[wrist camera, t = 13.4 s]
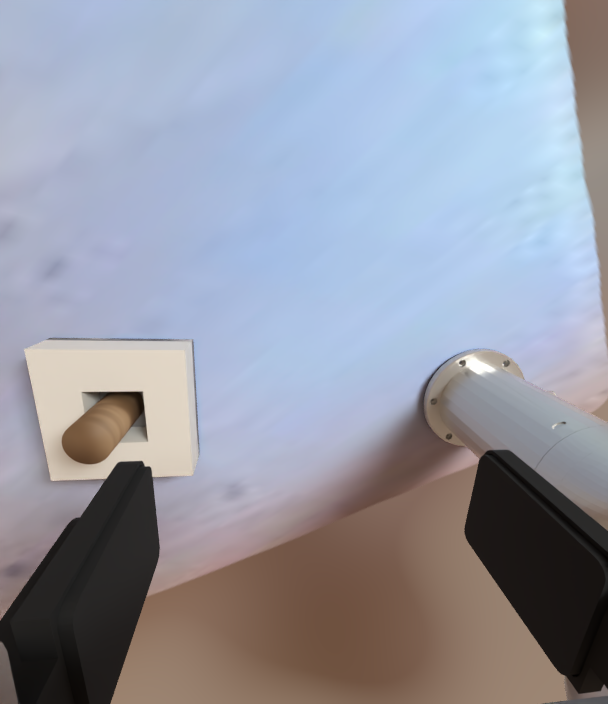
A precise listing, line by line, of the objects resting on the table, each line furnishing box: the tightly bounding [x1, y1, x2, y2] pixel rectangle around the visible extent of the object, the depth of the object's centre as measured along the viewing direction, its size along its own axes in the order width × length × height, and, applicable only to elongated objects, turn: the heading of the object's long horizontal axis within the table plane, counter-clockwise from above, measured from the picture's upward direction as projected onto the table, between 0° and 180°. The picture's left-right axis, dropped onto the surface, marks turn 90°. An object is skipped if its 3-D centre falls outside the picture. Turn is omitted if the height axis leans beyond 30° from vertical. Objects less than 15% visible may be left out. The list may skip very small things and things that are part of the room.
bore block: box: [24, 338, 199, 481], centre depth 36 cm, size 14×14×4 cm
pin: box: [62, 391, 144, 464], centre depth 33 cm, size 4×4×8 cm
